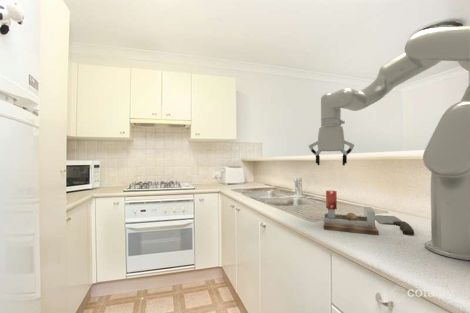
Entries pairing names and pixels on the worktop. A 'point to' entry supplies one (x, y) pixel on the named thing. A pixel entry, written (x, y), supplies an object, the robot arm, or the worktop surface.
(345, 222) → the press frame
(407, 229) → the cleaver
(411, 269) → the worktop surface
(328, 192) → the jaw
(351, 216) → the walnut
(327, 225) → the press base
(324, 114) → the robot arm
